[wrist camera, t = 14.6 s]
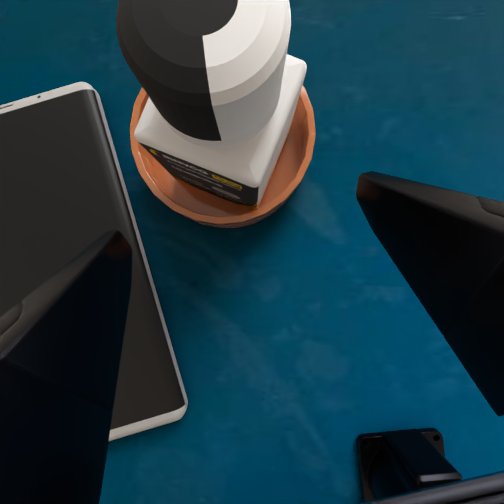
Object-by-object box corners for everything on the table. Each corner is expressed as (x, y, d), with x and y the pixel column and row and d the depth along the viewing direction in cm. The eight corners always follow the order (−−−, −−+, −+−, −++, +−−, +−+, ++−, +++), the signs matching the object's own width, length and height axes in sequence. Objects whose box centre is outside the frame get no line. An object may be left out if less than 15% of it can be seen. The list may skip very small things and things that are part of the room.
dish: (313, 220, 20) (323, 214, 17) (154, 235, 20) (137, 231, 17) (298, 65, 20) (306, 31, 17) (142, 79, 20) (123, 48, 17)
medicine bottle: (174, 180, 20) (49, 59, 8) (207, 98, 20) (137, -146, 8) (256, 213, 20) (261, 143, 8) (289, 131, 20) (346, -66, 8)
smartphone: (34, 453, 20) (13, 472, 18) (-53, 136, 20) (-81, 125, 19) (193, 406, 20) (187, 420, 18) (101, 90, 20) (86, 74, 19)
